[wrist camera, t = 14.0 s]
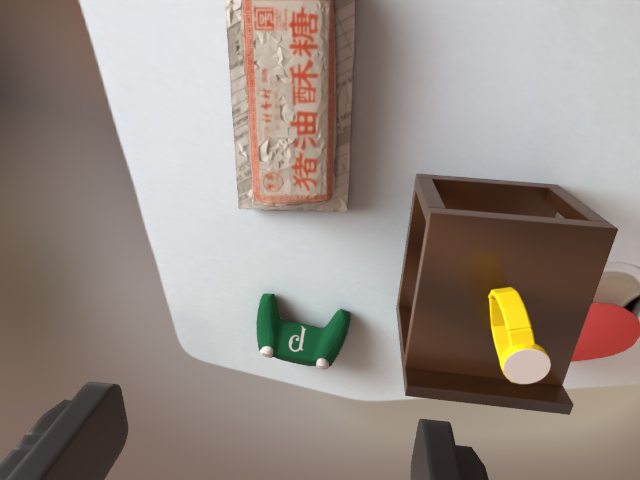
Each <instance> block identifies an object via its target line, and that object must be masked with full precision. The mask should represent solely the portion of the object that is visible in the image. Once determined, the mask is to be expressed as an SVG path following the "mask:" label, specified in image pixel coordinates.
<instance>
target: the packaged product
mask: <svg viewBox="0 0 640 480" xmlns="http://www.w3.org/2000/svg"><path fill="white" fill-rule="evenodd" d="M225 10H226V25H227V38H228V53H229V69H230V81H231V101H232V116H233V127H234V142H235V161H236V176H237V190H238V207H239V209H267V210H307V211H333V212H334V211H344V212H347V204H348V188H349V172H350V127H351V108H352V89H353V76H352V67H353V62H354V37H355V0H225Z"/></svg>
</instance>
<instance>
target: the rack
mask: <svg viewBox="0 0 640 480" xmlns="http://www.w3.org/2000/svg"><path fill="white" fill-rule="evenodd" d="M556 212H558V213H560V214H561V215H562V216H563V217H564V218H565V219H561V218H555V216H556ZM617 231H618V229H617V228H616V227H615V226H613V225H612V224H610V223H609V222H608V221H606V220H605V219H603V218H602V217H601V216H599V215H598V214H597V213H595V212H594V211H592V210H591V209H590V208H588V207H587V206H586V205H584V204H583V203H581V202H580V201H579V200H577V199H576V198H575V197H573V196H572V195H571V194H569V193H568V192H566V191H565V190H564V189H563V188H561V187H560V186H558V185H552V184H540V183H527V182H514V181H501V180H489V179H476V178H463V177H450V176H438V175H425V174H416V179H415V186H414V193H413V199H412V206H411V213H410V220H409V227H408V233H407V240H406V247H405V254H404V261H403V268H402V274H401V281H400V288H399V295H398V302H397V308H396V310H397V320H398V330H399V339H400V349H401V359H402V367H403V377H404V388H405V396H412V397H421V398H430V399H438V400H447V401H456V402H465V403H473V404H482V405H490V406H499V407H508V408H516V409H525V410H534V411H542V412H551V413H561V414H568V415H569V414H570V412H571V410H572V407H573V403H572V401H571V400H570V398H569V396H568V394H567V393H566V391H565V389H564V387H563V386H562V384H563V381H564V379H565V376H566V373H567V370H568V367H569V365H570V362H571V359H572V356H573V354H574V351H575V348H576V345H577V342H578V340H579V337H580V334H581V331H582V328H583V326H584V323H585V320H586V317H587V314H588V312H589V309H590V306H591V303H592V301H593V298H594V295H595V292H596V289H597V287H598V284H599V281H600V278H601V275H602V273H603V270H604V267H605V264H606V261H607V259H608V256H609V253H610V250H611V248H612V245H613V242H614V239H615V236H616V234H617ZM507 287H512V288H513V289H515V290H516V291H517V292H518V293H519V295H520V297H521V299H522V301H523V303H524V305H525V308H526V310H527V314H528V317H529V320H530V323H531V326H532V327H531V329H532V330H533V335H534V341H535V344H537V345H539V346H540V347H542V348H543V349H544V350H545V352H546V353H547V355H548V357H549V359H550V363H551V366H550V370H549V372H548V374H547V375H546V376H545V377H544V378H542V379H541V380H539V381H537V382H535V383H530V384H518V383H512V382H510V381H509V380H508V379H507V378H506V377H505V376H504V374H503V372H502V369H501V366H500V361H499V358H498V354H497V351H496V347H495V344H494V339H493V334H492V329H491V318H490V305H489V298H488V296H489V294H490V292H491V290H493V289H500V288H507Z"/></svg>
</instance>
